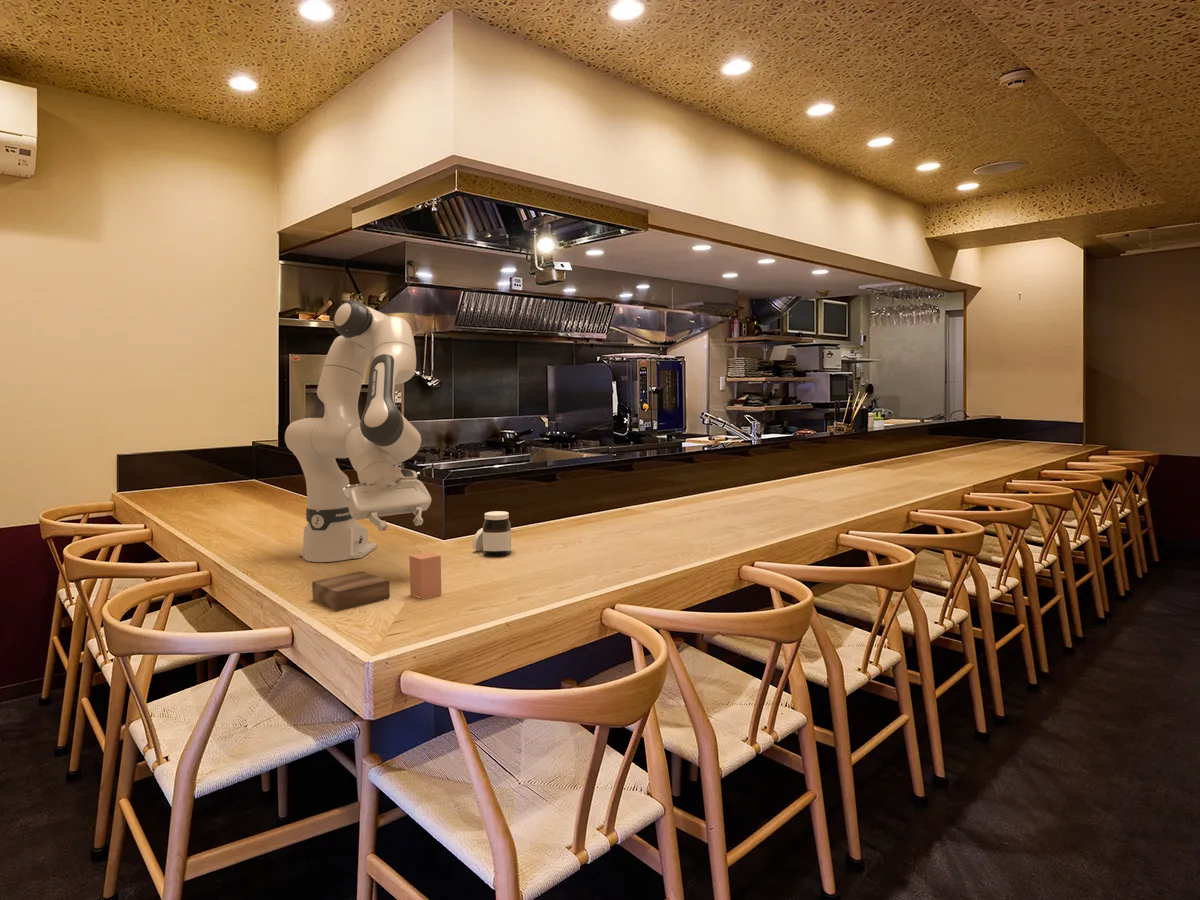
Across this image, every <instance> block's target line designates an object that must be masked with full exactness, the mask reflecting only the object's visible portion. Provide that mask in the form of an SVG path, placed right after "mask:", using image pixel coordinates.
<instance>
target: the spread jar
mask: <svg viewBox="0 0 1200 900" xmlns="http://www.w3.org/2000/svg"><path fill="white" fill-rule="evenodd" d="M509 517H510V516H509V512H508V511H503V510H502V511H501V510H500V511H498V510H496V511H495V510H494V511H488V512H485V513H484V522H483V524H482V528H480V529H478V530H477V532H476V533H475V534H474V536H473V539H472V543H471V545H472V549H474V550H476V551H477V552H481V551H483V554H484V555H485V556H487V555H488V556H487V557H502V556H501V555H504V556H508V555H510V553H511V552H512V551H511V550H512V528H511V527H512V525H511V521H510V520H509ZM482 549H483V550H482ZM480 550H481V551H480ZM507 554H508V555H507Z"/></svg>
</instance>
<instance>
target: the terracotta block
mask: <svg viewBox="0 0 1200 900" xmlns="http://www.w3.org/2000/svg"><path fill="white" fill-rule="evenodd" d="M441 559H442V557H441V555H439V554H437V553H433V552H429V551H427V552H421V553H418V554H410V555H409V585H410V586H409V588H410V595H411V594H412V595H411V596H413V595H415V596H418V597H420V598H425V599H427V598H426V597H429V598H431V597H430V596H433V597H435V596H434V595H438V596H440V595H439V594H442V592H443V591H442V567H441V566H442V561H441ZM415 596H414V597H415ZM418 597H417V598H418ZM420 598H419V599H420Z"/></svg>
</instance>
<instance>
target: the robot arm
mask: <svg viewBox="0 0 1200 900" xmlns="http://www.w3.org/2000/svg"><path fill="white" fill-rule="evenodd" d="M332 322H333V327H334V330H335V331H336V332H337V333H338V334H339V336H337V337H335V338H334V340H333V342H332V344H331V345H330V347H329V350H328V352H327V355H326V357H325V360H324V363H323V366H322V370H321V373H320V374H321V375H320V377H319V380H318V384H317V389H316V395H317V398H318V400H320V402H322V403H323V405H324V413H323V417H304V418H301V419H298V420H294V421H292V422H291V423H289V425H288V426H287V427H286V430H285V433H284V442H285V444H286V447H287V448H288V450H289V451H291V452H292V454H293V455H294V456H295V457H296V459H297V460H298V462H299V465H300V467H301V470H302V472H303V475H304V479H305V485H306V495H307V497H306V498H307V499H306V500H307V501H306V502H307V507H306V509H305V516H306V517H305V519H306V522H307V524H306V525H305V526H304V528H303V541H302V551H300V552H299V556H300V555H302V556H303V557H302V559H303V558H304V559H305V560H304V559H303V560H304V561H306V560H307V561H306V562H311V561H312V562H311V563H313V562H315V563H329V562H340V561H346V560H352V559H353V560H355V559H361V558H364V557H365V556H366V555H368V554H369V553H370V552H372V551H373V550H375V549H376V548H377V547H378V546H377V543H376V542H371V541H370V542H369V534H368V529H367V527H365V526H364V524H362V523H360V522H359V521H358V520H366V519H367V520H368V521H369V522H370V523H372V524H373V525H375V526H376V527H377V530H378V531H379V532H383V531H386V530H387V529H388V524H387V522H386V520H382V519H381V517H388V516H394V515H395V516H396V515H402V514H411V513H412V514H413V515H414V516H415V517H414V518H413V520H412V522H413V523H414V525H415V526H416V527H417V526H422V524H423V523H424V519H423V518H422V512H424V511H427V510H428V509H429V507H430V505H431V504H432V497H431V494H430V492H429V491H428V489H427V487H426V486H425V484H424V483H423V482H422V481H421V480H419V479H418V473H417V472H416V470H412V469H406V468H401V467H398V466H397V465H399V464H402V463H404V462H406V461H408V460H410V459H411V458H413V457H415V456H416V455H417V453H418V452H419V450H420V449H421V446H422V435H421V433H420V432H419V430H417V428H416V427H415V426H413V424H412V423H411V422H409V421H408V420H407V418H406V417H404V415H403V414H402V413H401V412H400V410H399V409H398V407H397V405H396V402H395V386H396V385H401V384H403V383H406V382H408V381H409V380H411V379H413V377H414V375H415V373H416V369H417V354H416V353H417V352H416V351H417V350H416V344H415V338H414V335H413V334H414V333H413V331H412V328H411V326H410V324H409V322H407V320H405V319H404V318H402V317H401V316H392V315H391V316H390V315H389V316H388V315H386V314H385V313H383V312H381V311H378V310H376V309H374V308H372V307H370V306H367V305H365V303H363V302H362V301H361V302H360V301H357V300H352V299H349V300H346V301H344V302H343V303H341V304H340V305H339V306H338V307H337V309H336V310H335V312H334V315H333V321H332ZM372 357H373V358H372ZM371 358H372V359H373V360H372V361H371V363H370V367H369V375H368V382H367V398H366V403H365V407H364V411H363V412H362V415H361V417H360V414H359V398H360V392H361V389H362V385H363V381H364V377H365V372H366V368H367V367H366V366H367V363H368V362H369V360H370V359H371ZM336 459H348V460H349V462H350V464H351V466H352V468H353V470H355V472H356V473H357V478H358V479H357V480H358V482H359V483H356V484H350V479H349V477H348V475H347V474H345V472H344V471H342V470H341V469H340V467H339V464H338V463H337V460H336Z"/></svg>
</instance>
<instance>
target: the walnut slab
mask: <svg viewBox="0 0 1200 900" xmlns="http://www.w3.org/2000/svg"><path fill="white" fill-rule="evenodd" d="M311 588H312V590H311V591H312V600H313V601H315V602H316V603H319V604H320V605H321V604H322V605H323V604H324V606H325V605H326V607H328V608H331V609H332V610H335V611H337V612H340V611H345V610H348V609H353V608H356V607H361V606H365V605H369V604H373V603H378V602H381V600H382V601H385V600H384V599H387V600H389V599H388V598H391V595H390V594H391V593H390V580H389V579H385V578H384V577H380V576H377V575H375V574H371V573H369V572H366V571H357V572H353V573H349V574H343V575H338V576H332V577H328V578H322V579H318V580H313V581H311Z"/></svg>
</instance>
